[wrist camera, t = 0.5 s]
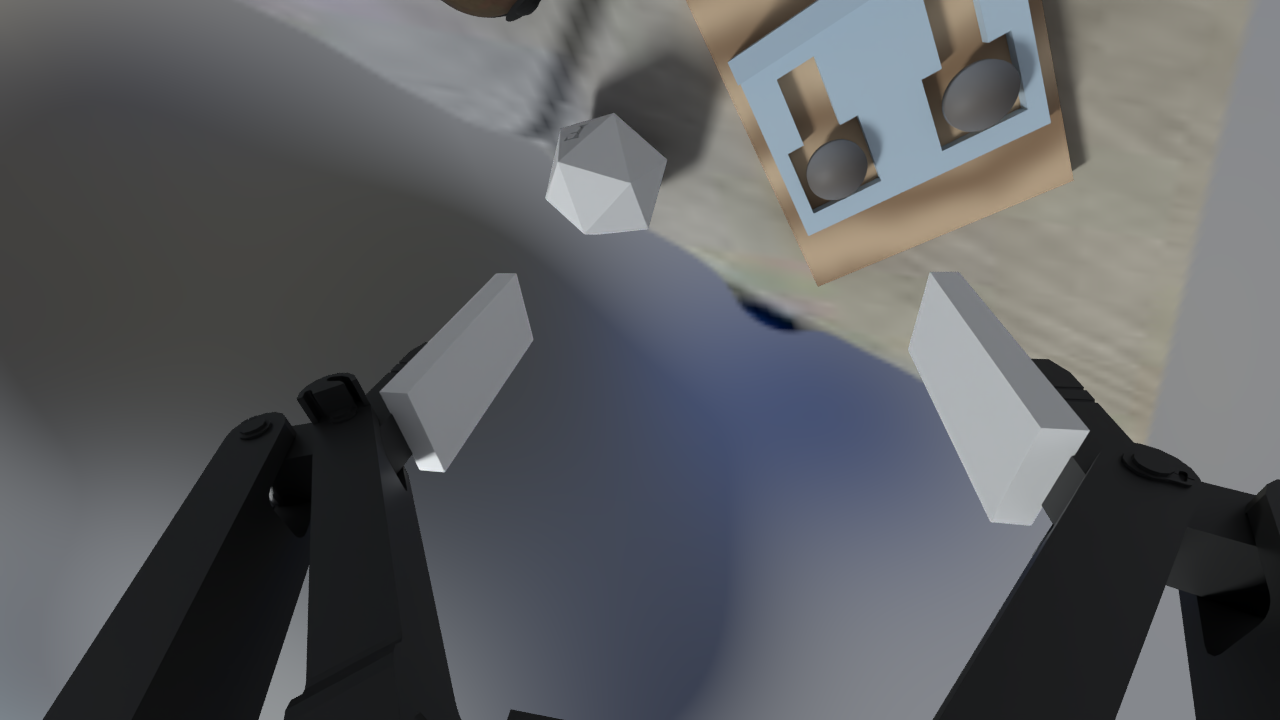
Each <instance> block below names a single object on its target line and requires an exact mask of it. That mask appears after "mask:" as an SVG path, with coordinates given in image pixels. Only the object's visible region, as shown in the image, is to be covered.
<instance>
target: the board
mask: <svg viewBox="0 0 1280 720" xmlns="http://www.w3.org/2000/svg"><path fill="white" fill-rule="evenodd" d="M686 1H687V4H688V6H689V8H690V10H691V12H692V14H693V17H694V19H695V21H696V23H697V25H698V27H699V30H700V32H701V34H702V36H703V38H704V40H705V43H706V45H707V47H708V49H709V51H710V53H711V56H712V58H713V60H714V62H715V64H716V67H717V69H718V71H719V73H720V75H721V77H722V80H723V82H724V84H725V86H726V88H727V90H728V93H729V95H730V97H731V99H732V101H733V103H734V106H735V108H736V110H737V112H738V114H739V116H740V119H741V121H742V123H743V125H744V127H745V129H746V132H747V134H748V136H749V138H750V140H751V142H752V145H753V147H754V149H755V151H756V153H757V155H758V158H759V160H760V162H761V164H762V166H763V168H764V171H765V173H766V175H767V177H768V179H769V181H770V184H771V186H772V188H773V190H774V192H775V194H776V197H777V199H778V201H779V203H780V205H781V207H782V210H783V212H784V214H785V216H786V218H787V220H788V223H789V225H790V227H791V229H792V231H793V233H794V236H795V238H796V240H797V242H798V244H799V247H800V249H801V251H802V253H803V255H804V257H805V260H806V262H807V264H808V266H809V268H810V270H811V273H812V275H813V277H814V279H815V281H816V283H817V286H821V285H823V284H825V283H828V282H830V281H833V280H835V279H837V278H840V277H842V276H845V275H847V274H849V273H852V272H854V271H857V270H859V269H861V268H864V267H866V266H869V265H871V264H874V263H876V262H878V261H881V260H883V259H886V258H888V257H890V256H893V255H895V254H898V253H900V252H902V251H905V250H907V249H910V248H912V247H914V246H917V245H919V244H922V243H924V242H926V241H929V240H931V239H934V238H936V237H939V236H941V235H943V234H946V233H948V232H951V231H953V230H955V229H958V228H960V227H963V226H965V225H967V224H970V223H972V222H975V221H977V220H979V219H982V218H984V217H987V216H989V215H991V214H994V213H996V212H999V211H1001V210H1004V209H1006V208H1008V207H1011V206H1013V205H1016V204H1018V203H1020V202H1023V201H1025V200H1028V199H1030V198H1032V197H1035V196H1037V195H1040V194H1042V193H1044V192H1047V191H1049V190H1052V189H1054V188H1056V187H1059V186H1061V185H1064V184H1066V183H1069V182H1071V181H1073V174H1072V169H1071V163H1070V157H1069V152H1068V146H1067V140H1066V135H1065V129H1064V124H1063V118H1062V112H1061V107H1060V101H1059V95H1058V90H1057V84H1056V78H1055V73H1054V67H1053V61H1052V56H1051V50H1050V45H1049V39H1048V33H1047V28H1046V22H1045V16H1044V11H1043V5H1042V0H1028V3H1029V8H1030V14H1031V19H1032V24H1033V30H1034V35H1035V40H1036V46H1037V51H1038V56H1039V62H1040V67H1041V72H1042V78H1043V83H1044V88H1045V93H1046V99H1047V104H1048V109H1049V115H1050V120H1051V123H1050V124H1048V125H1046V126H1043V127H1041V128H1039V129H1037V130H1035V131H1033V132H1031V133H1028V134H1026V135H1024V136H1022V137H1020V138H1018V139H1016V140H1013V141H1011V142H1009V143H1007V144H1005V145H1003V146H1001V147H998V148H996V149H994V150H992V151H990V152H988V153H986V154H983V155H981V156H979V157H977V158H975V159H973V160H971V161H968V162H966V163H964V164H962V165H960V166H958V167H956V168H953V169H951V170H949V171H947V172H945V173H943V174H941V175H938V176H936V177H934V178H932V179H930V180H928V181H926V182H923V183H921V184H919V185H917V186H915V187H913V188H911V189H908V190H906V191H904V192H902V193H900V194H898V195H896V196H893V197H891V198H889V199H887V200H885V201H883V202H881V203H878V204H876V205H874V206H872V207H870V208H868V209H866V210H863V211H861V212H859V213H857V214H855V215H853V216H851V217H848V218H846V219H844V220H842V221H840V222H838V223H836V224H833V225H831V226H829V227H827V228H825V229H823V230H821V231H818V232H816V233H814V234H812V235H810V236H808V234H807V232H806V230H805V228H804V225H803V223H802V221H801V219H800V216H799V214H798V212H797V210H796V208H795V205H794V203H793V201H792V199H791V196H790V194H789V192H788V190H787V187H786V185H785V183H784V181H783V178H782V176H781V174H780V172H779V170H778V167H777V165H776V163H775V161H774V158H773V156H772V154H771V152H770V149H769V147H768V145H767V143H766V141H765V138H764V136H763V134H762V132H761V129H760V127H759V125H758V123H757V120H756V118H755V116H754V114H753V111H752V109H751V107H750V105H749V103H748V100H747V98H746V96H745V94H744V91H743V89H742V87H741V85H739V86H738V84H737V82H736V80H735V78H734V75H733V73H732V71H731V69H730V67H729V64H728V61H729V60H730V59H732V58H733V57H734V56H736V55H737V54H739V53H740V52H742V51H743V50H745V49H746V48H748V47H749V46H750V45H752V44H753V43H755V42H756V41H758V40H759V39H761V38H762V37H764V36H765V35H767V34H768V33H769V32H771V31H772V30H774V29H775V28H777V27H778V26H780V25H781V24H783V23H784V22H786V21H787V20H788V19H790V18H791V17H793V16H794V15H796V14H797V13H799V12H800V11H802V10H803V9H805V8H806V7H807V6H809V5H810V4H812V3H813V2H815V1H816V0H686ZM923 1H924V4H925V8H926V12H927V16H928V19H929V23H930V27H931V30H932V34H933V38H934V41H935V45H936V49H937V52H938V56H939V60H940V63H941V67H942V69H940V70H939V71H937V72H935V73H933V74H931V75H930V76H928V77H926V78H924V79H922V84H923V87H924V90H925V94H926V97H927V101H928V104H929V108H930V111H931V114H932V118H933V121H934V125H935V128H936V132H937V135H938V138H939V142H940V145H941V147H942V146H944V145H946V144H948V143H950V142H952V141H954V140H956V139H958V138H960V137H962V136H964V135H966V134H968V133H970V132H976V131H981V130H984V129H986V128H989V127H991V126H993V125H994V124H996V123H997V122H999V121H1000V120H1001V119H1002V118H1003V117H1004V116H1005V115H1007V114H1009V113H1011V112H1013V111H1015V110H1017V109H1019V108H1021V105H1020V100H1019V95H1018V94H1019V91H1020V77H1019V73H1018V71H1017V70H1016V68H1015V67H1014V66H1013V65H1012V62H1011V57H1010V53H1009V48H1008V43H1007V38H1006V34H1004V35H1002V36H1000V37H998V38H996V39H995V40H993V41H991V42H989V43H986V42H982V38H981V34H980V29H979V25H978V21H977V16H976V12H975V8H974V3H973V0H923ZM777 82H778V84H779V87H780V89H781V91H782V94H783V96H784V99H785V101H786V103H787V106H788V108H789V111H790V113H791V115H792V118H793V120H794V123H795V125H796V128H797V130H798V132H799V135H800V137H801V140H802V142H803V144H804V146H802V147H800V148H798V149H796V150H795V151H793V152H791V153H789V154H788V155H789V157H790V159H791V162H792V164H793V166H794V168H795V171H796V173H797V175H798V178H799V180H800V182H801V185H802V187H803V189H804V192H805V194H806V196H807V199H808V201H809V203H810V205H811V208H812V210H813V209H815V208H817V207H819V206H821V205H823V204H825V203H827V202H829V201H831V200H838V199H842V198H845V197H847V196H849V195H851V194H852V193H853V192H855V191H856V190H857V189H858V188H859V187H860V186H862V185H864V184H866V183H868V182H870V181H872V180H874V179H876V178H878V174H877V172H876V169H875V166H874V163H873V160H872V158H871V155H870V152H869V149H868V146H867V144H866V141H865V138H864V135H863V133H862V130H861V127H860V124H859V121H858V119H857V116H856V117H854V118H852V119H850V120H849V121H847V122H845V123H843V124H841V125H840V124H839V123H838V121H837V118H836V115H835V113H834V110H833V107H832V105H831V102H830V99H829V97H828V94H827V91H826V89H825V86H824V83H823V81H822V78H821V75H820V73H819V70H818V67H817V65H816V62H815V59H814V57H812V58H810V59H809V60H807V61H806V62H804V63H802V64H801V65H799V66H798V67H796V68H794V69H793V70H791V71H790V72H788V73H787V74H785V75H783V76H782V77H780V78H779V79H777Z"/></svg>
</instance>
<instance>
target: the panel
mask: <svg viewBox="0 0 1280 720" xmlns="http://www.w3.org/2000/svg"><path fill="white" fill-rule="evenodd" d="M973 3H974V8H975V12H976V16H977V21H978V25H979V29H980V34H981V38H982V42H986V43H989V42H991V41H993V40H995V39H996V38H998V37H1000V36H1002V35H1004V34H1006V38H1007V43H1008V48H1009V53H1010V57H1011V62H1012V65H1013V66H1014V67H1015V68H1016V70H1017V71H1018V73H1019V77H1020V91H1019V94H1018V95H1019V100H1020V105H1021V108H1019V109H1017V110H1015V111H1013V112H1011V113H1009V114H1007V115H1005V116H1004V117H1003V118H1002V119H1001V120H1000V121H999V122H997V123H996V124H994V125H993V126H991V127H989V128H986V129H984V130H981V131H976V132H970V133H968V134H966V135H964V136H962V137H960V138H958V139H956V140H954V141H952V142H950V143H948V144H946V145H944V146H942V147H941V145H940V142H939V138H938V135H937V132H936V128H935V125H934V121H933V118H932V114H931V111H930V108H929V104H928V101H927V97H926V94H925V90H924V87H923V84H922V79H924V78H926V77H928V76H930V75H931V74H933V73H935V72H937V71H939V70H940V69H942V67H941V63H940V60H939V56H938V52H937V49H936V45H935V41H934V38H933V34H932V30H931V27H930V23H929V19H928V16H927V12H926V8H925V4H924V1H923V0H816V1H815V2H813V3H812V4H810V5H809V6H807V7H806V8H805V9H803V10H802V11H800V12H799V13H797V14H796V15H794V16H793V17H791V18H790V19H788V20H787V21H786V22H784V23H783V24H781V25H780V26H778V27H777V28H775V29H774V30H772V31H771V32H769V33H768V34H767V35H765V36H764V37H762V38H761V39H759V40H758V41H756V42H755V43H753V44H752V45H750V46H749V47H748V48H746V49H745V50H743V51H742V52H740V53H739V54H737V55H736V56H734V57H733V58H732V59H730V60H729V61H728V64H729V67H730V69H731V71H732V73H733V75H734V78H735V80H736V82H737V84H738V86H739V85H741V87H742V89H743V91H744V94H745V96H746V98H747V100H748V103H749V105H750V107H751V109H752V111H753V114H754V116H755V118H756V120H757V123H758V125H759V127H760V129H761V132H762V134H763V136H764V138H765V141H766V143H767V145H768V147H769V149H770V152H771V154H772V156H773V158H774V161H775V163H776V165H777V167H778V170H779V172H780V174H781V176H782V178H783V181H784V183H785V185H786V187H787V190H788V192H789V194H790V196H791V199H792V201H793V203H794V205H795V208H796V210H797V212H798V214H799V216H800V219H801V221H802V223H803V225H804V228H805V230H806V232H807V234H808V236H810V235H812V234H814V233H816V232H818V231H821V230H823V229H825V228H827V227H829V226H831V225H833V224H836V223H838V222H840V221H842V220H844V219H846V218H848V217H851V216H853V215H855V214H857V213H859V212H861V211H863V210H866V209H868V208H870V207H872V206H874V205H876V204H878V203H881V202H883V201H885V200H887V199H889V198H891V197H893V196H896V195H898V194H900V193H902V192H904V191H906V190H908V189H911V188H913V187H915V186H917V185H919V184H921V183H923V182H926V181H928V180H930V179H932V178H934V177H936V176H938V175H941V174H943V173H945V172H947V171H949V170H951V169H953V168H956V167H958V166H960V165H962V164H964V163H966V162H968V161H971V160H973V159H975V158H977V157H979V156H981V155H983V154H986V153H988V152H990V151H992V150H994V149H996V148H998V147H1001V146H1003V145H1005V144H1007V143H1009V142H1011V141H1013V140H1016V139H1018V138H1020V137H1022V136H1024V135H1026V134H1028V133H1031V132H1033V131H1035V130H1037V129H1039V128H1041V127H1043V126H1046V125H1048V124H1050V123H1051V120H1050V115H1049V109H1048V104H1047V99H1046V93H1045V88H1044V83H1043V78H1042V72H1041V67H1040V62H1039V56H1038V51H1037V46H1036V40H1035V35H1034V30H1033V24H1032V19H1031V14H1030V8H1029V3H1028V0H973ZM812 57H814V59H815V62H816V65H817V67H818V70H819V73H820V75H821V78H822V81H823V83H824V86H825V89H826V91H827V94H828V97H829V99H830V102H831V105H832V107H833V110H834V113H835V115H836V118H837V121H838V123H839V124H840V125H841V124H843V123H845V122H847V121H849V120H850V119H852V118H854V117H856V116H857V119H858V121H859V124H860V127H861V130H862V133H863V135H864V138H865V141H866V144H867V146H868V149H869V152H870V155H871V158H872V160H873V163H874V166H875V169H876V172H877V174H878V178H876V179H874V180H872V181H870V182H868V183H866V184H864V185H862V186H860V187H859V188H858V189H857V190H856V191H855V192H853V193H852V194H851V195H849V196H847V197H845V198H842V199H838V200H831V201H829V202H827V203H825V204H823V205H821V206H819V207H817V208H815V209H813V210H812V208H811V205H810V203H809V201H808V199H807V196H806V194H805V192H804V189H803V187H802V185H801V182H800V180H799V178H798V175H797V173H796V171H795V168H794V166H793V164H792V162H791V159H790V157H789V155H788V154H789V153H791V152H793V151H795V150H796V149H798V148H800V147H802V146H804V144H803V142H802V140H801V137H800V135H799V132H798V130H797V128H796V125H795V123H794V120H793V118H792V115H791V113H790V111H789V108H788V106H787V103H786V101H785V99H784V96H783V94H782V91H781V89H780V87H779V84H778V82H777V79H779V78H780V77H782V76H783V75H785V74H787V73H788V72H790V71H791V70H793V69H794V68H796V67H798V66H799V65H801V64H802V63H804V62H806V61H807V60H809V59H810V58H812Z"/></svg>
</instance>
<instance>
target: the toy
mask: <svg viewBox="0 0 1280 720" xmlns="http://www.w3.org/2000/svg"><path fill="white" fill-rule="evenodd" d="M442 1H443V2H445V3H446V4H448V5H449V6H451V7H452V8H454V9H456V10H458V11H461V12H463V13H466V14H469V15H473V16H478V17H487V18H495V17H502V16H506V20H507V21H514V20H516V19H518V18H520V17H522V16H525V15H529V14H531V13H532V12H533V11H534V10H535V9H536V8H537V7H538V5H539V2H540V1H541V0H442Z"/></svg>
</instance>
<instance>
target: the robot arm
mask: <svg viewBox="0 0 1280 720" xmlns="http://www.w3.org/2000/svg"><path fill="white" fill-rule="evenodd" d="M532 341H533V336H532V332H531V328H530V325H529V320H528V317H527V313H526V309H525V305H524V301H523V298H522V294H521V290H520V286H519V282H518V278H517V274H516V273H504V274H503V273H498V274H495V275H494V276H493V277H492V278H491V279H490V280H489V281H488V282H487V283H486V284H485V285H484V286H483V287H482V288H481V289H480V290H479V292H478V293H477V294H476V295H475V296H474V297H472V299H471V300H470V301H469V302H468V303H467V304H466V305H465V306H464V307H463V308H462V309H461V310H460V311H459V312H458V313H457V314H456V315H455V316H454V317H453V318H452V319H451V320H450V321H449V322H448V323H447V324H446V325H445V326H444V327H443V328H442V329H441V330H440V331H439V332H438V333H437V334H436V335H435V336H434V337H433V338H432V339H431V340H430V341H429V342H425V343H423V344H422V345H420V346H418V347H417V348H415V349H413V350H412V351H410V352H409V353H408V354H407V355H406V356H405V357H404V358H403V359H402V360H401V361H400V362H399V364H397V365H396V366H395V367H394V368H393V369H392V370H391V373H388V374H387V375H385V377H383V378H382V379H381V380H380V381H379V382H378V383H377V384H376V385H375V386H374V387H373V388H372V389H371V390H370V391H369V392H368V393H367V394H366V395H365V393H364V391H363V390H362V388H361V386H360V384H359V382H358V380H357V379H356V377H355V375H353V374H350V373H337V374H332V375H328V376H326V377H323V378H321V379H318V380H316V381H314V382H313V383H311V384H309V385H308V386H306V387H305V388H304V389H303V390H302V391H301V392H300V393H299V395H298V397H297V400H298V402H299V404H300V405H301V407H302V408H303V410H304V411H305V413H306V414H307V416H308V417H309V419H310V420H311V422H312V423H307V424H302V425H295V426H291V424H290V423H289V422H288V420H287V419H286V417H285V416H284V415H283V414H282V413H277V412H272V413H265V414H262V415H258V416H254V417H251V418H249V420H248V419H247V420H245V421H243V422H242V423H241V424H240V425H238V426H237V427H235V428H234V429H233V430H232V431H231V432H230V433H229V434H228V435H227V436H226V438H225V439H224V441H223V442H222V444H221V445H220V447H219V448H218V450H217V452H216V453H215V455H214V456H213V458H212V460H211V461H210V462H209V464H208V465H207V467H206V468H205V470H204V472H203V473H202V475H201V476H200V478H199V479H198V481H197V482H196V484H195V485H194V487H193V489H192V490H191V492H190V493H189V495H188V496H187V498H186V499H185V501H184V503H183V504H182V505H181V507H180V509H179V510H178V512H177V513H176V515H175V516H174V518H173V519H172V521H171V522H170V524H169V526H168V527H167V529H166V530H165V532H164V533H163V535H162V536H161V538H160V540H159V541H158V543H157V544H156V546H155V547H154V549H153V550H152V552H151V553H150V555H149V557H148V558H147V560H146V561H145V563H144V564H143V566H142V567H141V569H140V570H139V572H138V573H137V575H136V577H135V578H134V580H133V581H132V583H131V584H130V586H129V587H128V589H127V591H126V592H125V593H124V595H123V596H122V598H121V600H120V601H119V603H118V604H117V606H116V607H115V609H114V610H113V612H112V613H111V615H110V617H109V618H108V620H107V621H106V623H105V625H104V626H103V627H102V629H101V630H100V632H99V634H98V635H97V637H96V638H95V640H94V641H93V643H92V644H91V646H90V647H89V649H88V651H87V653H86V654H85V655H84V657H83V658H82V660H81V661H80V663H79V664H78V666H77V667H76V669H75V671H74V672H73V674H72V675H71V677H70V678H69V680H68V681H67V683H66V685H65V686H64V688H63V689H62V691H61V692H60V694H59V695H58V697H57V698H56V700H55V701H54V703H53V705H52V706H51V708H50V709H49V711H48V712H47V714H46V715H45V717H44V718H43V720H258V719H259V716H260V713H261V710H262V706H263V704H264V701H265V698H266V694H267V692H268V688H269V685H270V682H271V679H272V676H273V673H274V670H275V667H276V664H277V661H278V658H279V655H280V652H281V649H282V646H283V643H284V640H285V637H286V633H287V631H288V627H289V624H290V621H291V618H292V615H293V612H294V609H295V606H296V603H297V600H298V597H299V594H300V591H301V588H302V585H303V581H304V579H305V576H306V573H307V569H308V567H309V600H308V601H309V603H308V635H307V636H308V637H307V672H306V686H305V690H304V692H303V694H302V695H300V696H298V697H296V698H294V699H292V700H291V701H290V703H289V705H288V707H287V709H286V710H285V716H284V720H461V718H460V715H459V712H458V709H457V706H456V702H455V697H454V693H453V688H452V683H451V678H450V674H449V669H448V663H447V659H446V654H445V649H444V644H443V639H442V634H441V630H440V626H439V620H438V616H437V611H436V605H435V601H434V596H433V591H432V586H431V581H430V576H429V572H428V567H427V562H426V557H425V552H424V547H423V542H422V538H421V533H420V528H419V523H418V518H417V514H416V508H415V504H414V499H413V494H412V489H411V484H410V480H409V475H408V473H407V471H406V469H405V467H404V464H405V463H406V462H407V460H408V459H409V458H410V456H411V455H412V456H413V458H414V460H415V462H416V464H417V466H418V468H419V470H425V471H436V472H445V471H446V470H447V468H448V467H449V465H450V464H451V462H452V461H453V459H454V458H455V456H456V455H457V453H458V451H459V450H460V449H461V447H462V446H463V444H464V443H465V441H466V440H467V438H468V437H469V435H470V434H471V432H472V431H473V429H474V428H475V426H476V425H477V423H478V422H479V420H480V419H481V417H482V416H483V414H484V413H485V411H486V410H487V408H488V407H489V405H490V404H491V402H492V401H493V399H494V398H495V396H496V395H497V393H498V392H499V390H500V389H501V387H502V386H503V385H504V383H505V382H506V380H507V378H508V377H509V375H510V374H511V372H512V371H513V370H514V368H515V367H516V365H517V364H518V362H519V361H520V359H521V358H522V356H523V354H524V353H525V352H526V350H527V349H528V347H529V346H530V344H531V343H532ZM908 351H909V353H910V355H911V357H912V359H913V361H914V363H915V365H916V367H917V369H918V372H919V374H920V376H921V378H922V380H923V382H924V384H925V386H926V388H927V390H928V392H929V395H930V397H931V399H932V401H933V403H934V405H935V407H936V409H937V411H938V413H939V415H940V418H941V420H942V422H943V424H944V426H945V428H946V430H947V432H948V434H949V436H950V438H951V441H952V443H953V445H954V447H955V449H956V451H957V453H958V455H959V457H960V459H961V461H962V464H963V466H964V468H965V470H966V472H967V474H968V476H969V478H970V480H971V482H972V484H973V487H974V489H975V490H976V493H977V495H978V497H979V499H980V501H981V503H982V505H983V507H984V510H985V512H986V514H987V516H988V518H989V520H990V522H997V523H1008V524H1019V525H1032V523H1033V522H1034V520H1035V519H1036V517H1037V515H1038V514H1039V512H1040V510H1041V509H1042V507H1043V508H1044V510H1045V511H1046V513H1047V515H1048V516H1049V518H1050V520H1051V521H1052V523H1053V524H1052V526H1051V528H1050V529H1049V531H1048V532H1047V534H1046V535H1045V537H1044V538H1043V540H1042V541H1041V543H1040V544H1039V546H1038V547H1037V549H1036V550H1035V552H1034V553H1033V556H1032V558H1031V560H1030V561H1029V563H1028V565H1027V566H1026V568H1025V569H1024V571H1023V573H1022V574H1021V576H1020V578H1019V579H1018V581H1017V583H1016V584H1015V586H1014V587H1013V589H1012V591H1011V592H1010V594H1009V596H1008V597H1007V599H1006V601H1005V602H1004V604H1003V606H1002V607H1001V609H1000V610H999V612H998V614H997V615H996V617H995V619H994V620H993V622H992V623H991V625H990V627H989V629H988V630H987V632H986V633H985V635H984V637H983V638H982V640H981V642H980V643H979V645H978V646H977V648H976V650H975V651H974V653H973V655H972V656H971V658H970V660H969V661H968V663H967V664H966V666H965V668H964V669H963V671H962V672H961V674H960V676H959V677H958V679H957V681H956V683H955V684H954V686H953V687H952V689H951V690H950V692H949V694H948V695H947V697H946V699H945V700H944V702H943V704H942V705H941V707H940V708H939V710H938V712H937V714H936V715H935V717H934V718H933V720H1115V718H1116V715H1117V713H1118V710H1119V708H1120V705H1121V702H1122V700H1123V697H1124V694H1125V692H1126V689H1127V686H1128V684H1129V681H1130V678H1131V676H1132V673H1133V670H1134V668H1135V665H1136V662H1137V660H1138V657H1139V654H1140V652H1141V649H1142V647H1143V644H1144V641H1145V638H1146V636H1147V633H1148V631H1149V628H1150V625H1151V622H1152V620H1153V617H1154V615H1155V612H1156V609H1157V606H1158V604H1159V601H1160V599H1161V596H1162V593H1163V590H1164V588H1165V585H1167V586H1170V587H1173V588H1176V589H1179V595H1180V603H1181V611H1182V618H1183V626H1184V633H1185V641H1186V648H1187V656H1188V663H1189V671H1190V678H1191V686H1192V693H1193V700H1194V707H1195V716H1196V720H1280V480H1275V481H1273V482H1271V483H1269V484H1267V485H1266V486H1265V487H1264V488H1263V489H1262V490H1261V491H1260V492H1259V493H1258V494H1257V495H1252V494H1248V493H1244V492H1240V491H1236V490H1232V489H1228V488H1224V487H1220V486H1216V485H1212V484H1208V483H1204V482H1201V480H1200V478H1199V477H1198V476H1197V475H1196V474H1195V472H1194V471H1193V470H1192V469H1191V468H1190V467H1188V466H1187V465H1186V464H1184V463H1183V462H1181V461H1180V460H1179V459H1177V458H1176V457H1174V456H1172V455H1169V454H1167V453H1165V452H1163V451H1161V450H1159V449H1156V448H1153V447H1149V446H1146V445H1143V444H1138V443H1134V442H1133V441H1132V440H1131V439H1130V438H1129V437H1128V436H1127V435H1126V434H1125V433H1124V431H1123V430H1122V429H1121V428H1120V427H1119V426H1118V425H1117V424H1116V423H1115V421H1114V420H1113V419H1112V418H1111V417H1110V416H1109V415H1108V414H1107V413H1106V412H1105V410H1104V409H1103V408H1102V407H1101V406H1100V405H1099V404H1098V403H1095V399H1094V398H1093V397H1092V396H1091V395H1090V394H1089V393H1088V392H1087V391H1086V390H1083V388H1084V387H1083V386H1082V385H1081V384H1080V383H1079V382H1078V381H1077V379H1076V378H1075V377H1074V376H1073V375H1072V374H1071V373H1070V372H1069V371H1067V370H1065V369H1064V368H1062V367H1060V366H1059V365H1057V364H1055V363H1054V362H1052V361H1051V360H1049V359H1030V357H1029V356H1028V355H1027V354H1026V353H1025V351H1024V350H1023V349H1022V348H1021V346H1020V345H1019V344H1018V343H1017V342H1016V340H1015V339H1014V338H1013V337H1012V336H1011V334H1010V333H1009V332H1008V331H1007V329H1006V328H1005V327H1004V326H1003V325H1002V323H1001V322H1000V321H999V320H998V319H997V317H996V316H995V315H994V314H993V312H992V311H991V310H990V309H989V308H988V306H987V305H986V304H985V303H984V302H983V300H982V299H981V298H980V297H979V296H978V294H977V293H976V292H975V291H974V289H973V288H972V287H971V286H970V285H969V283H968V282H967V281H966V280H965V279H964V277H963V276H962V275H961V274H960V272H930V274H929V277H928V281H927V284H926V288H925V292H924V295H923V299H922V302H921V306H920V309H919V313H918V316H917V320H916V323H915V327H914V331H913V334H912V338H911V341H910V345H909V348H908ZM309 565H310V566H309ZM507 720H562V719H556V718H552V717H546V716H542V715H536V714H531V713H526V712H521V711H516V710H510V713H509V716H508V719H507Z"/></svg>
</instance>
